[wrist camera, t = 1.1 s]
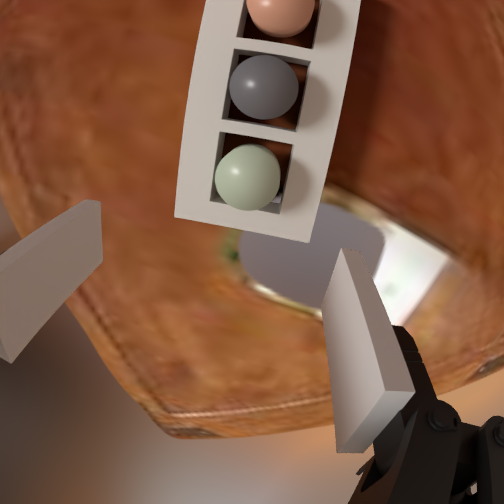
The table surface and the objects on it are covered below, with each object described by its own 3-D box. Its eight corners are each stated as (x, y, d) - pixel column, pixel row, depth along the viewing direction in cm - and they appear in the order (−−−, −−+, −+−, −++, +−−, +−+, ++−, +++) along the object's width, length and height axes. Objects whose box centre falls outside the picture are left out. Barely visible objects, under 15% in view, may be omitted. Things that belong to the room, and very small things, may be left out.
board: (223, -31, 19) (217, -44, 16) (356, -10, 19) (363, -21, 16) (184, 206, 30) (174, 216, 27) (306, 229, 30) (308, 242, 27)
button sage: (227, 138, 24) (219, 143, 22) (285, 149, 24) (285, 154, 22) (218, 193, 26) (211, 204, 24) (274, 204, 26) (273, 216, 24)
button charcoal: (241, 57, 21) (235, 51, 18) (301, 67, 21) (304, 61, 18) (231, 112, 23) (224, 113, 21) (290, 123, 23) (291, 125, 21)
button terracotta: (256, -16, 18) (252, -29, 15) (315, -6, 18) (319, -19, 15) (245, 33, 20) (240, 23, 17) (306, 42, 20) (309, 34, 17)
